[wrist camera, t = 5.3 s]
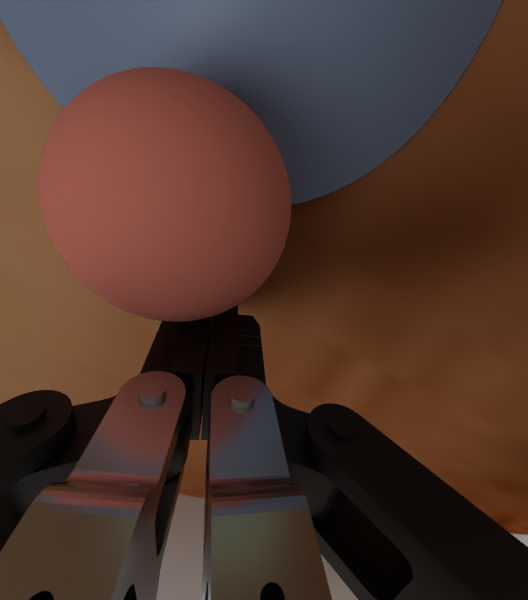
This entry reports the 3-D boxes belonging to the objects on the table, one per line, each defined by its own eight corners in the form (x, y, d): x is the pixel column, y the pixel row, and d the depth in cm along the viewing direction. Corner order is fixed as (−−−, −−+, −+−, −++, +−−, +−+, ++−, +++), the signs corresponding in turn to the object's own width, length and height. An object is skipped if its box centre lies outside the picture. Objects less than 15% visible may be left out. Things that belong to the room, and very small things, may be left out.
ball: (147, 278, 11) (130, 110, 9) (292, 291, 10) (306, 109, 8) (2, 349, 6) (-103, 5, 4) (265, 386, 5) (285, -23, 3)
